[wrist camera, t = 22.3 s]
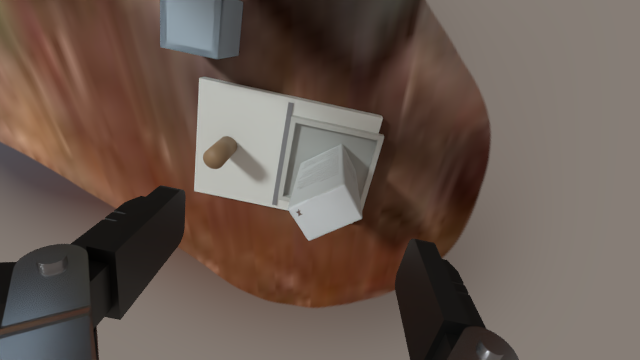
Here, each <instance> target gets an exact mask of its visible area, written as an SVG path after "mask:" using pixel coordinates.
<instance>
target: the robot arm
mask: <svg viewBox="0 0 640 360" xmlns="http://www.w3.org/2000/svg"><path fill="white" fill-rule="evenodd" d="M184 225H185V192H184V190H181V189H176V188H171V187H166V186H159V187H157V188H156V189H155V190H154V191H153V192H151V193H150V194H149V195H148V196H146V197H143V196H140V197H137V198H135V199H132V200H129V201H127V202H125V203H124V204H122V205H121V206H120V207H118V208H117V209H116V210H115V211H114V212H112V213H111V214H109V215H108V216H107V217H105V220H101V221H100V222H99V223H97V224H96V225H95V226H94V227H92V228H91V229H90V230H88V231H87V232H86V233H84V234H83V235H82V236H81V237H79V238H78V239H76V240H75V241H74V242H73V243H71V244H56V245H50V246H46V247H42V248H39V249H36V250H34V251H32V252H30V253H28V254H26V255H25V256H23V257H22V258H20V259H19V260H18V261H17V262H3V263H0V360H99V352H98V336H97V325H98V324H99V322H100V321H101V320H102V319H103V318H104V317H109V318H114V319H119V320H120V319H121V318H122V317H123V316H124V314H125V313H126V312H127V310H128V309H129V308H130V307H131V306H132V304H133V303H134V302H135V300H136V299H137V298H138V296H139V295H140V294H141V293H142V291H143V290H144V289H145V287H146V286H147V285H148V283H149V282H150V281H151V280H152V279H153V277H154V276H155V275H156V273H157V272H158V270H160V268H161V267H162V266H163V264H164V263H165V262H166V261H167V259H168V258H169V257H170V256H171V254H172V253H173V252H174V250H175V249H176V248H177V247H178V245H179V244H180V242H181V239H182V237H183V233H184ZM395 290H396V295H397V300H398V305H399V309H400V314H401V319H402V323H403V328H404V332H405V337H406V342H407V347H408V352H409V356H410V360H519V359H518V356H517V355H516V353H515V351H514V350H513V349H512V347H511V346H510V345H509V344H508V343H507V342H506V341H505V340H504V339H503V338H501V337H500V336H498V335H497V334H495V333H494V332H492V331H490V330H488V329H486V327H485V325H484V323H483V321H482V319H481V317H480V315H479V313H478V311H477V309H476V307H475V305H474V303H473V301H472V299H471V297H470V295H468V291H467V289H466V287H465V286H464V285H463V281H462V279H461V277H460V275H459V273H458V271H457V270H456V269H455V268H454V267H453V266H452V265H451V264H450V263H449V262H448V261H447V260H444V259H442V258H441V256H440V254H439V252H438V249H437V247H436V245H435V244H434V243H432V242H427V241H422V240H418V239H411V240H410V241H409V243H408V246H407V248H406V251H405V254H404V256H403V259H402V261H401V264H400V266H399V269H398V272H397V275H396V280H395Z"/></svg>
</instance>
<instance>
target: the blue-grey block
mask: <svg viewBox="0 0 640 360" xmlns="http://www.w3.org/2000/svg"><path fill="white" fill-rule="evenodd" d="M242 12H243V2H242V1H239V0H160V47H163V48H167V49H172V50H177V51H181V52H186V53H190V54H195V55H200V56H204V57H209V58H213V59H223V58H228V57H234V56H239V46H240V34H241V23H242Z"/></svg>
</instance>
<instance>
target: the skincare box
mask: <svg viewBox="0 0 640 360" xmlns="http://www.w3.org/2000/svg"><path fill="white" fill-rule="evenodd" d="M288 210H289V212H290V213H291V215H292V216H293V218H294V219H295V221H296V222H297V224H298V226H299V227H300V229H301V230H302V232H303V233H304V235H305V236H306V238H307V239H308V241H310V240H312V239H315V238H317V237H320V236H322V235H324V234H327V233H329V232H332V231H334V230H336V229H339V228H341V227H343V226H346V225H348V224H350V223H353V222H355V221H358V220H360V219H362V210H361V203H360V197H359V190H358V183H357V176H356V170H355V168H354V166H353V164H352V162H351V160H350V158H349V156H348V154H347V152H346V150H345V148H344V146H343V144H340V145H338V146H336V147H334V148H332V149H329V150H327V151H325V152H323V153H321V154H319V155H317V156H315V157H313V158H311V159H308V160H306V161H304V162H302V163H301V164H300V167H299V171H298V174H297V178H296V181H295V184H294V188H293V192H292V195H291V198H290V202H289V205H288Z"/></svg>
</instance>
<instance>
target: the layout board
mask: <svg viewBox="0 0 640 360" xmlns="http://www.w3.org/2000/svg"><path fill="white" fill-rule="evenodd" d="M382 120H383V117H382V115H377V114H373V113H368V112H364V111H359V110H354V109H350V108H345V107H341V106H336V105H332V104H327V103H322V102H318V101H313V100H309V99H304V98H300V97H295V96H291V95H286V94H281V93H277V92H272V91H268V90H263V89H259V88H254V87H249V86H245V85H240V84H236V83H231V82H227V81H222V80H217V79H213V78H208V77H201V78H199V97H198V119H197V141H196V163H195V185H194V191H197V192H202V193H207V194H211V195H216V196H221V197H226V198H231V199H235V200H240V201H245V202H250V203H255V204H259V205H264V206H269V207H274V208H279V209H283V210H288V205H289V202H290V198H291V195H292V192H293V188H294V184H295V181H296V178H297V174H298V171H299V167H300V164H301V163H302V162H304V161H306V160H308V159H311V158H313V157H315V156H317V155H319V154H321V153H323V152H325V151H327V150H329V149H332V148H334V147H336V146H338V145H340V144H343V146H344V148H345V150H346V152H347V154H348V156H349V158H350V160H351V162H352V164H353V166H354V168H355V170H356V176H357V183H358V190H359V197H360V203H361V210H363V207H364V204H365V200H366V197H367V194H368V190H369V187H370V184H371V180H372V177H373V173H374V170H375V167H376V163H377V160H378V157H379V153H380V150H381V147H382V143H383V140H384V135H383V134H379V130H380V127H381V123H382ZM288 211H289V210H288ZM350 224H353V223H350Z"/></svg>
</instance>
